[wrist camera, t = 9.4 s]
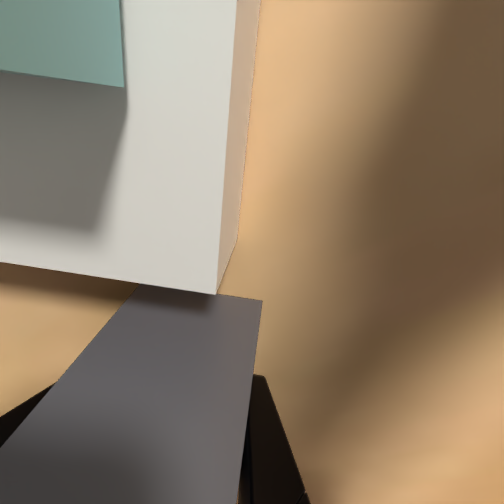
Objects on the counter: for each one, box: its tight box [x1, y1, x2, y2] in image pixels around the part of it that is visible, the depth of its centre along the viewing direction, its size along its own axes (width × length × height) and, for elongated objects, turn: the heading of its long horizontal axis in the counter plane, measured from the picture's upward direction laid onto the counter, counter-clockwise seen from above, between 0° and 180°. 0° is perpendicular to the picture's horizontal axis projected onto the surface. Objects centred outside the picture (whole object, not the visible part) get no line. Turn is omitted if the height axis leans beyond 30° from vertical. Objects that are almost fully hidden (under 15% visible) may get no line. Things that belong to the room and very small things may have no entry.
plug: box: [0, 283, 262, 504], centre depth 7 cm, size 4×4×9 cm
